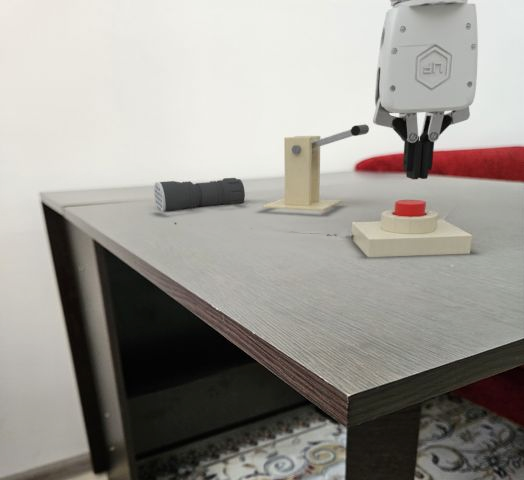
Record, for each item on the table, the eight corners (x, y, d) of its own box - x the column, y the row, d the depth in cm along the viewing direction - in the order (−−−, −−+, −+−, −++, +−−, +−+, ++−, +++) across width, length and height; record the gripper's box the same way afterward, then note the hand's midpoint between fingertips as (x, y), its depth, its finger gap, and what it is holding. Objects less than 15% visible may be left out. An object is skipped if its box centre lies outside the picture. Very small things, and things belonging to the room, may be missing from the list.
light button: (419, 213, 65) (420, 199, 65) (428, 218, 62) (430, 203, 61) (390, 214, 65) (391, 200, 65) (398, 219, 62) (399, 204, 61)
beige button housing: (440, 235, 70) (443, 205, 68) (470, 254, 61) (474, 219, 59) (351, 238, 70) (352, 208, 68) (367, 258, 61) (370, 223, 59)
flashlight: (236, 204, 98) (235, 174, 95) (248, 209, 93) (247, 177, 91) (155, 212, 92) (152, 180, 90) (164, 217, 87) (160, 184, 85)
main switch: (370, 135, 83) (367, 120, 82) (361, 137, 79) (358, 120, 78) (302, 156, 89) (299, 142, 89) (290, 159, 85) (287, 144, 85)
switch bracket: (341, 207, 92) (343, 134, 87) (323, 216, 84) (325, 138, 80) (283, 204, 96) (283, 135, 91) (262, 212, 89) (260, 138, 84)
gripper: (366, -11, 51) (360, 185, 58) (518, -19, 51) (492, 178, 59) (351, 3, 57) (347, 177, 65) (485, -3, 58) (466, 171, 65)
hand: (416, 177), depth 62 cm, fingers closed
